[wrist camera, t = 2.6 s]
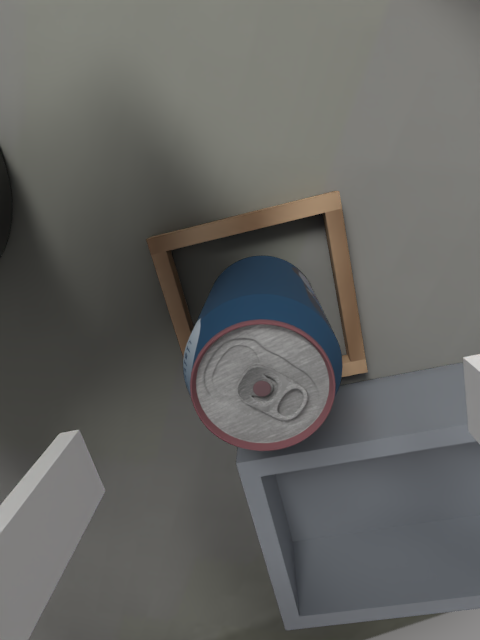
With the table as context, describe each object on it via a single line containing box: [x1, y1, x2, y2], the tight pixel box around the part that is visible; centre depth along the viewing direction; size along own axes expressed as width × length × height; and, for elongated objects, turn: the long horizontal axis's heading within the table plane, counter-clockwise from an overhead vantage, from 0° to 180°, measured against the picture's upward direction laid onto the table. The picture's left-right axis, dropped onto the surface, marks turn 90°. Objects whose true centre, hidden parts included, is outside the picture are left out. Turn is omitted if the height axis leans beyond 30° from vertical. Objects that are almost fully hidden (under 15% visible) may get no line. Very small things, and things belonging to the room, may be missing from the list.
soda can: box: [183, 256, 342, 451], centre depth 21 cm, size 7×7×12 cm
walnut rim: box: [146, 191, 368, 377], centre depth 26 cm, size 12×12×1 cm
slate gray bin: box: [236, 362, 480, 630], centre depth 27 cm, size 22×14×7 cm, turn 104°
